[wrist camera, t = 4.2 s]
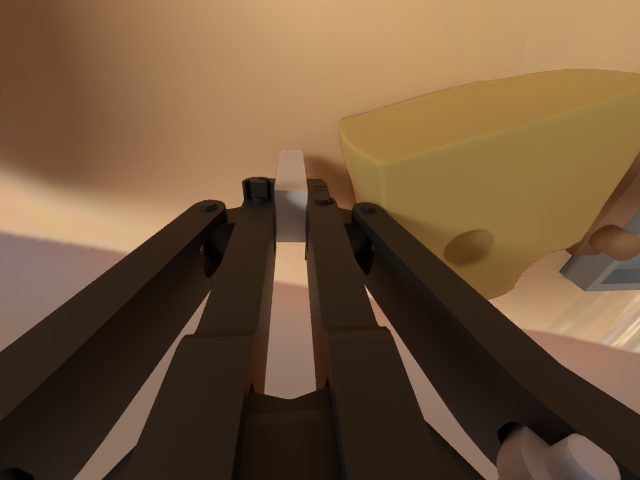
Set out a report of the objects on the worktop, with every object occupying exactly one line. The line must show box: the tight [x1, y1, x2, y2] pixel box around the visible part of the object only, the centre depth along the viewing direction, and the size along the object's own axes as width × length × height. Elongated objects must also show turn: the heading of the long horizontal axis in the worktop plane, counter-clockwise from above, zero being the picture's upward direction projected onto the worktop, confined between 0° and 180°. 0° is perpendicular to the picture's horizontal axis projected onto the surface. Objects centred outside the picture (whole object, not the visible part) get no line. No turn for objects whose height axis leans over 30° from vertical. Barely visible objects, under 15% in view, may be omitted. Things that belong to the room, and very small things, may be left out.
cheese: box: [339, 69, 640, 300], centre depth 15 cm, size 10×11×10 cm
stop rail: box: [564, 151, 640, 261], centre depth 18 cm, size 12×2×6 cm, turn 177°
